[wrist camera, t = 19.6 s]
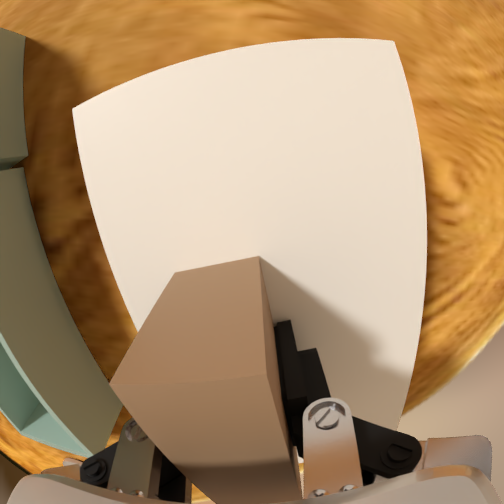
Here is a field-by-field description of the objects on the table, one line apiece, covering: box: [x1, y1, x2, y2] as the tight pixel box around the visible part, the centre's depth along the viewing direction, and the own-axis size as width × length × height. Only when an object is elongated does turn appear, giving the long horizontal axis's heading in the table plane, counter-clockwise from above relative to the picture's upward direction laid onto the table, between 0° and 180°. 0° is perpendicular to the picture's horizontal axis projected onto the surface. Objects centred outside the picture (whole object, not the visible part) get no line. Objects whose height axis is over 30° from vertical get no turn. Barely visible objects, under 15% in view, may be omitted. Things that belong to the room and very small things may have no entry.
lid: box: [72, 38, 427, 504], centre depth 9 cm, size 22×12×8 cm, turn 12°
